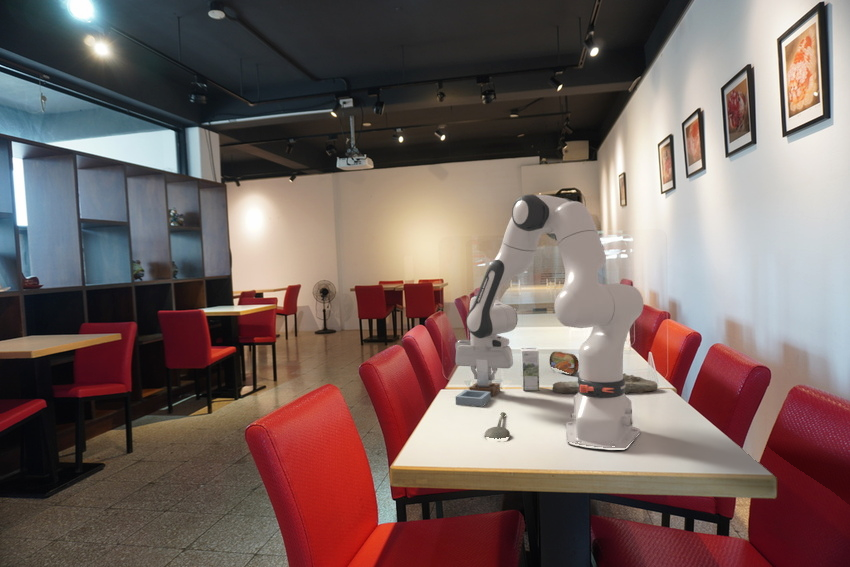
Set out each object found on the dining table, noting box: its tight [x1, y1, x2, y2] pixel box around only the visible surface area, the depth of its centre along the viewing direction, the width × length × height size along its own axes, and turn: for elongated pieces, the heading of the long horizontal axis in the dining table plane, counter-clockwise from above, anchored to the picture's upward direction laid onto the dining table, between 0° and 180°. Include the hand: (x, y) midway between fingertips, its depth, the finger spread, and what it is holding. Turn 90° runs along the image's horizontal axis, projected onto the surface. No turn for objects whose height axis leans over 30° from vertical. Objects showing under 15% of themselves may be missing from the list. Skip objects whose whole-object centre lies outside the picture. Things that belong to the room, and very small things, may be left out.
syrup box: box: [520, 347, 540, 392], centre depth 184 cm, size 6×6×14 cm
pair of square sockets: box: [455, 381, 501, 407], centre depth 176 cm, size 21×9×2 cm, turn 155°
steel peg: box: [476, 359, 493, 388], centre depth 182 cm, size 4×4×12 cm
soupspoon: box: [484, 412, 511, 439], centre depth 144 cm, size 22×3×7 cm
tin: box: [549, 351, 579, 376], centre depth 207 cm, size 15×3×8 cm, turn 25°
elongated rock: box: [552, 372, 658, 394], centre depth 178 cm, size 35×5×10 cm
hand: (484, 379), depth 182 cm, fingers closed on steel peg, 4 cm apart
